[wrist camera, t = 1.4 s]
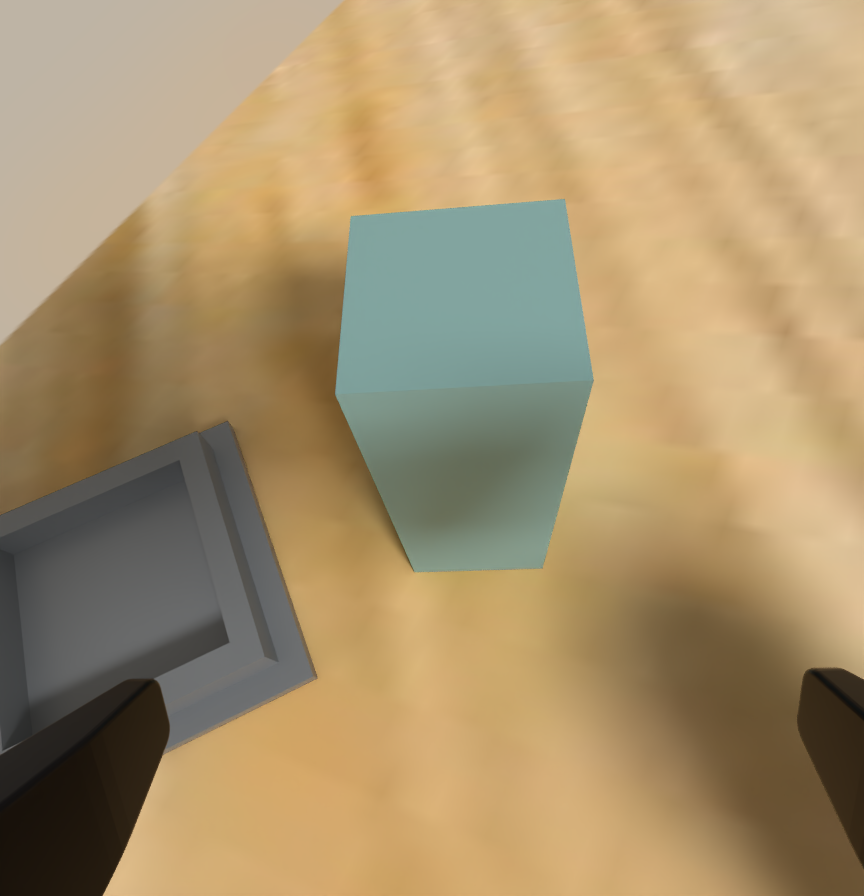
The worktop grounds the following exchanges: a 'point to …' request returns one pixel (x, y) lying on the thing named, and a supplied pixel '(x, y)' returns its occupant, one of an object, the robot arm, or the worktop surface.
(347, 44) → the worktop surface
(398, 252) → the teal block
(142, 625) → the socket holder
